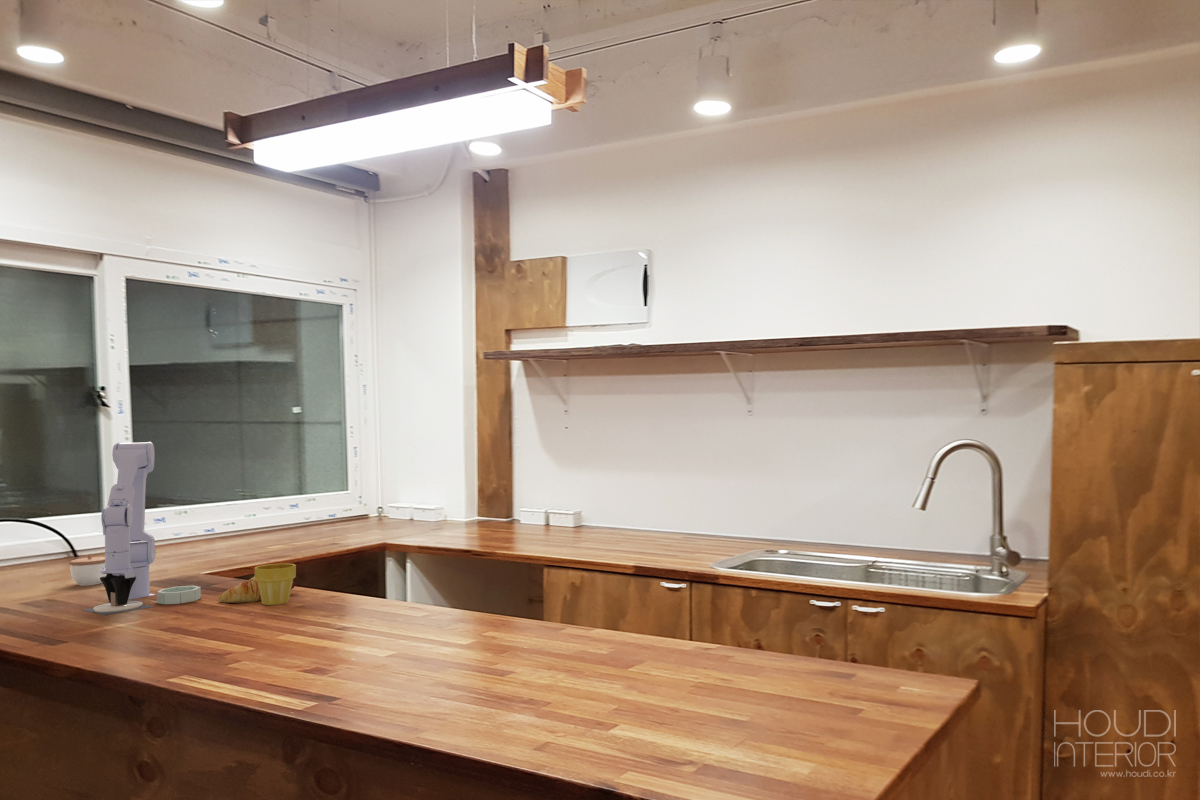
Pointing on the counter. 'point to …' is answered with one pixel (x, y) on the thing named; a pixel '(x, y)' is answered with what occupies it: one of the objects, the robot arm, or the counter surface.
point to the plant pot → (275, 582)
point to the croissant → (243, 592)
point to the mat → (118, 612)
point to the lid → (115, 607)
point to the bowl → (178, 594)
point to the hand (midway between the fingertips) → (118, 603)
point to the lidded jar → (87, 570)
